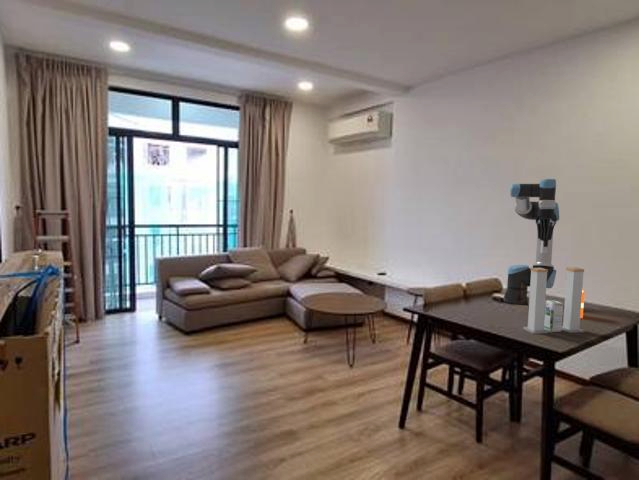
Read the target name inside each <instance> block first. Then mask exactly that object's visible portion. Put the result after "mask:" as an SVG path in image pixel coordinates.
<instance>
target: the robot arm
mask: <svg viewBox="0 0 639 480" xmlns="http://www.w3.org/2000/svg"><path fill="white" fill-rule="evenodd" d="M556 189H557V180H556V179H555V178H544V179H543V178H542V179H540V181H539V183H513V184H511V185H510V198H515V204H514V211H515V213H516V214H517V215H518V216H519V217H521V218H523V219H526V220H528V221H529V220H532V221H535V224H536V229H537V236H536V250H535V251H536V253H535V262H534V264H532V267H530V266H529V265H527V264H515V265H509V266H510V267H508V271H507V285H506V286H507V287H506V288H507V289H506V290H505V293H504V295H503V301H504V302H505V303H509V304H513V305H514V304H515V305H528V298H527V293H528V292H529V291H528V287H529V288H530V281H531V268H544V269H547V270H548V272H547V283H546V289H552V288H553V287H554V285H555V281H556V274H557V269H555V266H554V265H553V264H552V257H553V244H554V243H553V241H554V229H555V226H556V224H557V222H558V221H560V209H559V204H558V202H556ZM530 198H538V201H530Z"/></svg>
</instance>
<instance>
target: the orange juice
mask: <svg viewBox="0 0 639 480" xmlns="http://www.w3.org/2000/svg"><path fill="white" fill-rule="evenodd" d="M584 305H585V291H584V288H582V300H581V314H580V319H581V318H582V319H583V317H584V308H585V306H584Z"/></svg>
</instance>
